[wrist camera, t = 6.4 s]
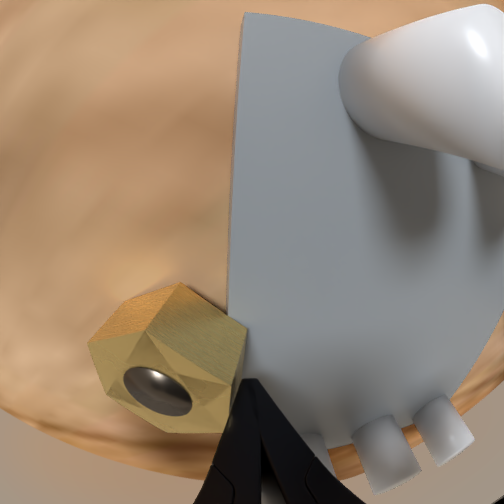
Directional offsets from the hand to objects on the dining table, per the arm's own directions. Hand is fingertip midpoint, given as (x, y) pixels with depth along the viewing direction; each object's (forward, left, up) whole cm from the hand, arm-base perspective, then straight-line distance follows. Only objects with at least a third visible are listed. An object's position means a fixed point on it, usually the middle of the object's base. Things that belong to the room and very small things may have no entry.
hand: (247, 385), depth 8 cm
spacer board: (-7, -1, -2) cm, 8 cm away
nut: (+2, 0, -2) cm, 3 cm away
